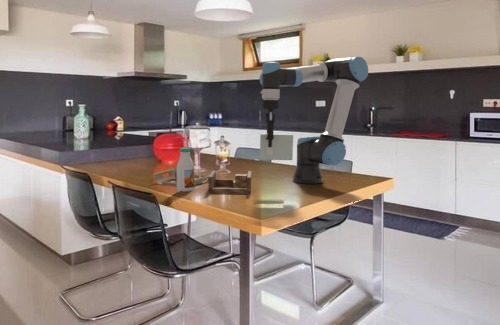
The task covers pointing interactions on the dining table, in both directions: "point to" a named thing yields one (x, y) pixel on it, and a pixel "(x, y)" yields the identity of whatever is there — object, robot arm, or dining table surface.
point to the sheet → (277, 147)
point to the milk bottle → (185, 171)
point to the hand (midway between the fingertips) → (269, 153)
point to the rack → (227, 185)
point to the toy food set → (175, 178)
